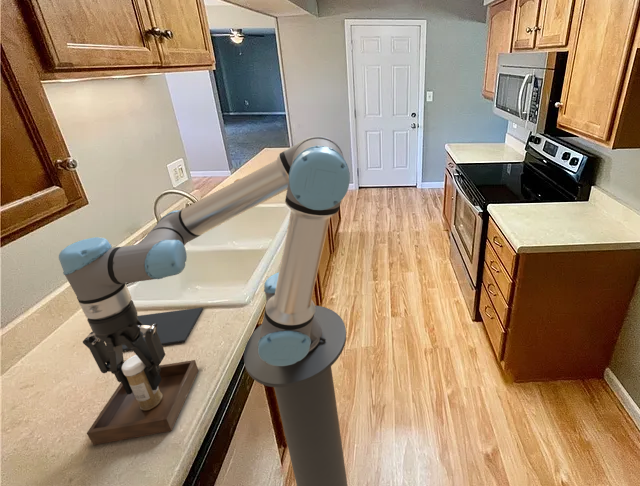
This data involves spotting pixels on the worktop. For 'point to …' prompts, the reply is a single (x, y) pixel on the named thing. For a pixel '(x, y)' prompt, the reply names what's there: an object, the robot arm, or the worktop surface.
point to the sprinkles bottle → (140, 383)
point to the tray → (130, 421)
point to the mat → (171, 325)
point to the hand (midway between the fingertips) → (144, 386)
